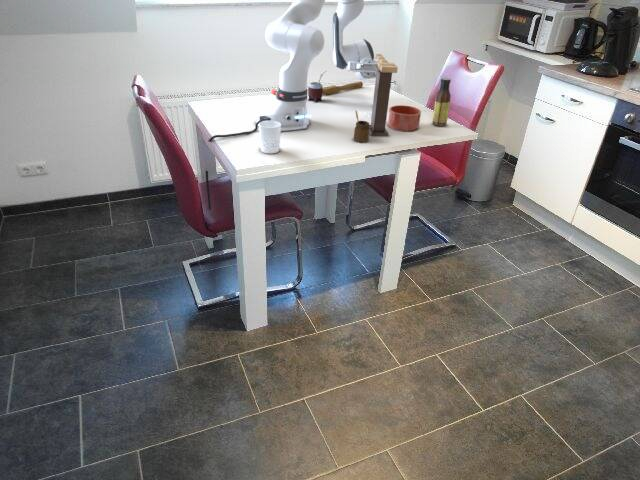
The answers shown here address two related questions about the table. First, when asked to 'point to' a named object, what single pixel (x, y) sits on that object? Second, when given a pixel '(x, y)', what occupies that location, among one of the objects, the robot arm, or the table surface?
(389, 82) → the stand
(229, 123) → the table surface
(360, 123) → the wooden mate cup
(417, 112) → the bowl
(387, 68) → the light wooden bar
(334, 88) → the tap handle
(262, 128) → the white cup
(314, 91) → the mate gourd
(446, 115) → the sauce bottle
